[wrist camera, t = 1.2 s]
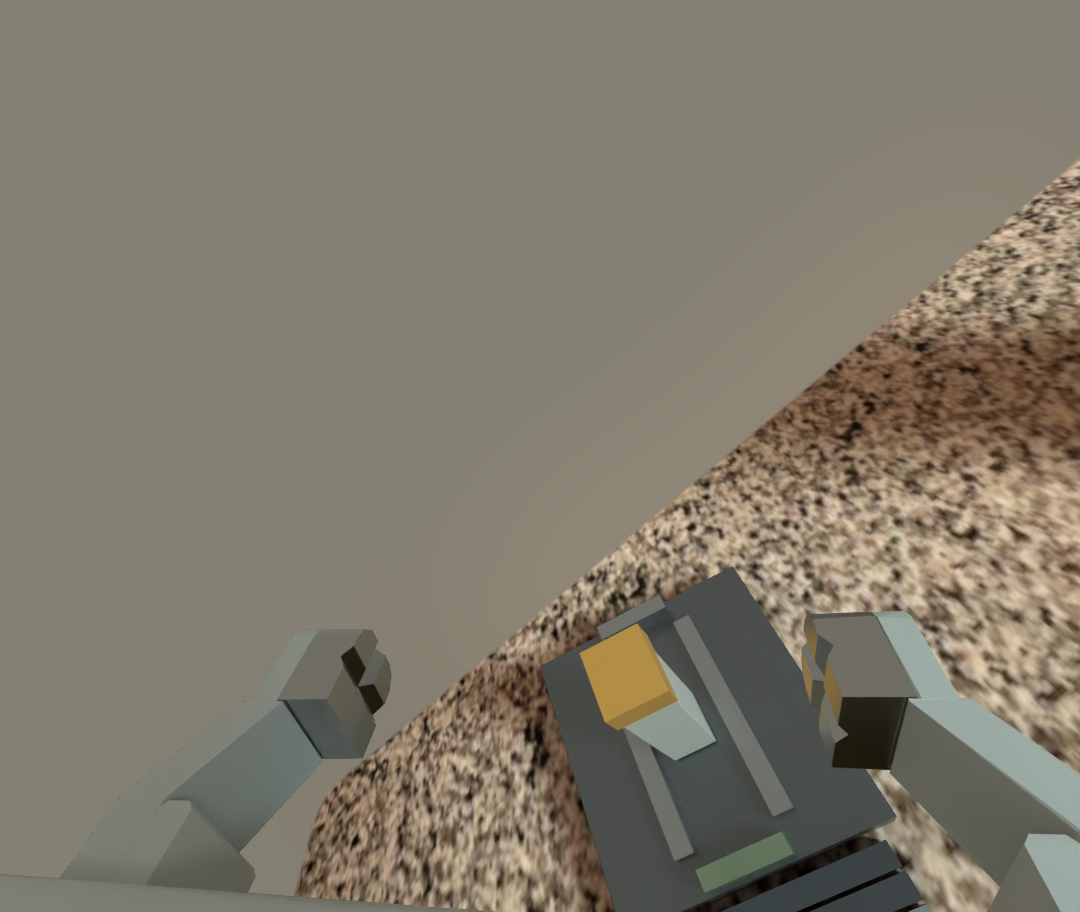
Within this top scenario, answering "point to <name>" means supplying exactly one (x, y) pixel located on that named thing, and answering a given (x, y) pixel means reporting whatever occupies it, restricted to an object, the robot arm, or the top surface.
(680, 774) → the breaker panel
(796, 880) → the dark grey flat bar
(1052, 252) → the top surface
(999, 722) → the robot arm
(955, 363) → the top surface
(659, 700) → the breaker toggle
